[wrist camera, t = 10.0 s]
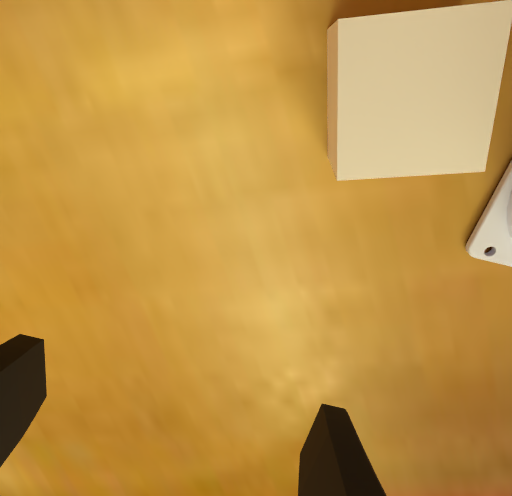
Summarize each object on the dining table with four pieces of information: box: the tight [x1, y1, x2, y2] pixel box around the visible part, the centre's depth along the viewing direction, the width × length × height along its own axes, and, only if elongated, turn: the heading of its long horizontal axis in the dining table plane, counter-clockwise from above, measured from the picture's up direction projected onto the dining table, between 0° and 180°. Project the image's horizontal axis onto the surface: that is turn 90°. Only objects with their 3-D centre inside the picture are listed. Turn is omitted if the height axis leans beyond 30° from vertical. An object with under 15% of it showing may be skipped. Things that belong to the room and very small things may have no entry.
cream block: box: [327, 0, 512, 181], centre depth 14 cm, size 5×5×4 cm
